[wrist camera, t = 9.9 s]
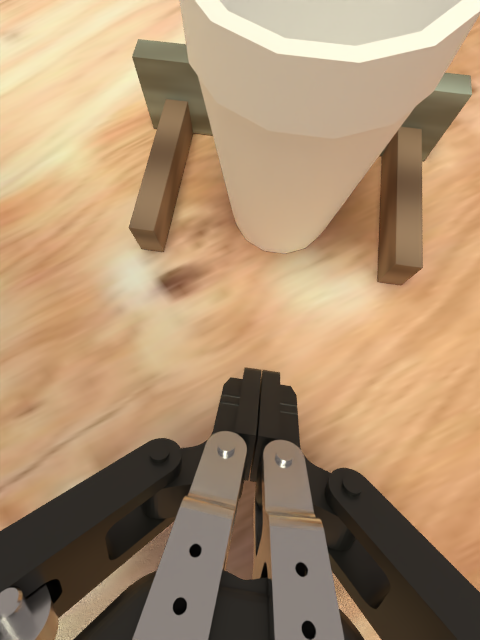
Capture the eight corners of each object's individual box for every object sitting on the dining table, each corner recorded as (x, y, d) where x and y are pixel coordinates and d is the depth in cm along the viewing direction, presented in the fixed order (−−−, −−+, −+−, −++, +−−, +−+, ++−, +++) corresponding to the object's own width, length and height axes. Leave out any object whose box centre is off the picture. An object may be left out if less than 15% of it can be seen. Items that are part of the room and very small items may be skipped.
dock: (425, 288, 20) (482, 249, 16) (119, 245, 21) (83, 196, 16) (423, 144, 24) (470, 75, 19) (158, 112, 24) (138, 39, 20)
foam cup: (353, 166, 23) (486, -127, 11) (344, 284, 20) (508, 79, 8) (223, 149, 23) (204, -151, 11) (199, 262, 21) (137, 37, 8)
